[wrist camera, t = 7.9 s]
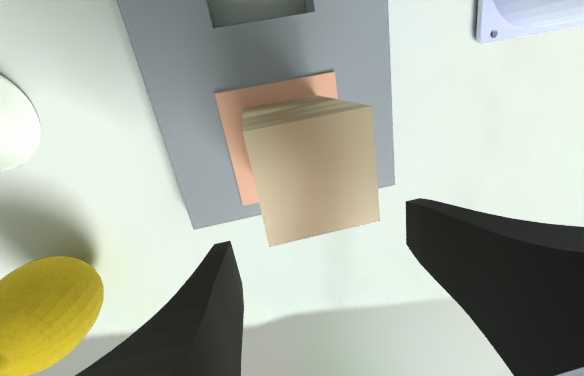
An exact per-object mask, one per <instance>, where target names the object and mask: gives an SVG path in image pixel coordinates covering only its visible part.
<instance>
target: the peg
mask: <svg viewBox="0 0 584 376" xmlns="http://www.w3.org/2000/svg"><path fill="white" fill-rule="evenodd" d="M242 125H243V135H244V140H245V144H246V148H247V153H248V157H249V161H250V165H251V170H252V174H253V178H254V182H255V187H256V191H257V195H258V200H259V204H260V208H261V212H262V217H263V221H264V225H265V229H266V234H267V238H268V242H269V247H271V246H275V245H279V244H284V243H288V242H292V241H296V240H300V239H305V238H309V237H313V236H317V235H321V234H326V233H330V232H334V231H338V230H342V229H347V228H351V227H355V226H359V225H363V224H368V223H372V222H376V221H380V215H379V200H378V185H377V170H376V155H375V139H374V124H373V109H372V106H370V105H365V104H360V103H355V102H350V101H344V100H339V99H334V98H329V97H324V96H319V95H313V96H308V97H303V98H297V99H292V100H287V101H282V102H277V103H271V104H266V105H261V106H256V107H251V108H246V109H242Z"/></svg>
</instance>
